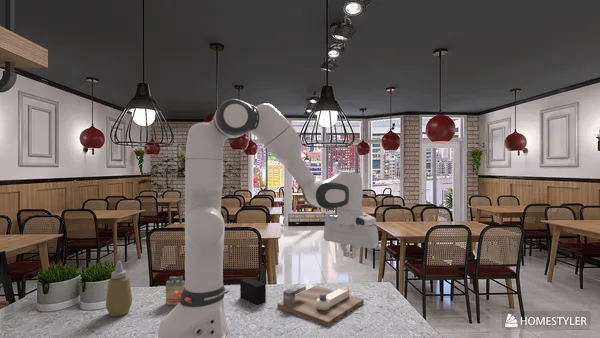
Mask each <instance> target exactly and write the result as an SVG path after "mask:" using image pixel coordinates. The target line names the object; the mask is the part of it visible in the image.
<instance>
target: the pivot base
mask: <svg viewBox="0 0 600 338" xmlns="http://www.w3.org/2000/svg"><path fill="white" fill-rule="evenodd" d="M333 291H334V290H333V289H328V288H326V287H323V286H322V287H321V286H320V285H319V286H318V285H313V286H312V287H311V288H308V289H307V286H306V285H303V284H300V283H299V284H297V285H294V286H293V287H290V288H288V289H285V290H284V291H283V292H282V293H283V294H282V295H283V300H282V301H280V302H278V303H277V305H276V307H277V309H280V310H283V311H286V312H288V313H291V314H293V315H295V316H298V317H301V318H304V319H306V320H309V321H312V322H315V323H317V324H320V325H323V326H325V327H330V326H331V325H333V324H334V323H335V322H337V321H339V320H340V319H342V318H344V317H345V316H347V315H348V314H349V313H351V312H353V311H355V309H357V308H359V307H360V306H363V304H364V303H365V300H364V298H360V297H356V296H354V295H351V294H349V297H347V298H345V299H343V300H342V301H340V302H338V303H337V304H335V305H333V306H331V307H330V308H329V309H328V310H324V311H323V310H318V309H317V308H316V300H317V299H318V298H320V300H321V301H325V300H326V295H328V294H330V293H331V292H333ZM343 316H344V317H343Z"/></svg>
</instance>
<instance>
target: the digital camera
mask: <svg viewBox="0 0 600 338" xmlns="http://www.w3.org/2000/svg"><path fill="white" fill-rule="evenodd" d="M239 283H240V285H239V286H240V287H239V288H240V289H239V292H240V293H239V296H240V297H239V298H240V299H242V300H244V301H246V302H249V303H250V304H253V305H254V306H260V305H262V304H265V303H266V302H267V301H266V300H267V296H266V294H267V291H266V290H267V289H266V288H267V287H266V286H267V284H266V283H264V282H262V281H259V280H258V279H257V278H251V277H247V278H243V279H241V280H240V282H239Z"/></svg>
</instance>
